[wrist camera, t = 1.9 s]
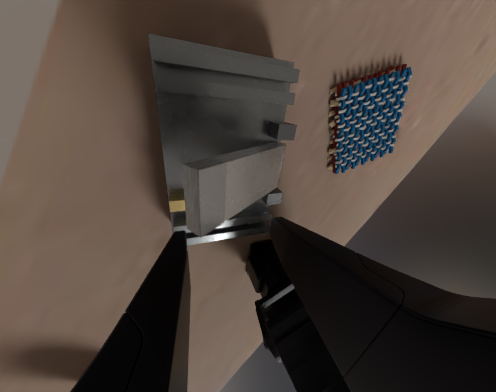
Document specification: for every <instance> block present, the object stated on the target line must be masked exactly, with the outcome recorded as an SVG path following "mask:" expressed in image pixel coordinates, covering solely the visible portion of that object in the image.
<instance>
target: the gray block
mask: <svg viewBox="0 0 496 392" xmlns="http://www.w3.org/2000/svg"><path fill="white" fill-rule="evenodd" d="M285 148H286V144H285V143H280V142H273V143H268V144H264V145H260V146H256V147H252V148H248V149H244V150H239V151H235V152H231V153H227V154H223V155H219V156H215V157H209V158H204V159H200V160H196V161H192V162H188V163H184V164H182V173H183V186H184V199H185V211H186V224H187V229H188V230H190V231H191V232H193V233H194V234H196V235H198V236H199V237H201V238H202V237H203V236H205V235H206V234H208V233H209V232H211V231H212V230H214V229H215V228H217V227H218V226H220V225H221V224H223V223H224V222H225V221H227V220H228V219H230V218H231V217H233V216H234V215H236V214H237V213H239V212H240V211H242V210H243V209H245V208H246V207H248V206H249V205H251V204H252V203H254V202H255V201H257V200H258V199H260V198H262V197H263V196H265V195H266V194H268V193H269V192H271V191H272V190H274V189H275V188H277V187H278V185H279V180H280V174H281V169H282V164H283V158H284V153H285Z"/></svg>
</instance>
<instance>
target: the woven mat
mask: <svg viewBox="0 0 496 392" xmlns="http://www.w3.org/2000/svg"><path fill="white" fill-rule="evenodd" d="M406 66H407V64H403V65H402V67H401V66H397V67H396V69H393V68H394V66H390V67H389V69H387V70H385V72H384V73H382V72H383V70H380V71H378V73H374V74H371V75H368V76H367V78H366V76H364V77H362V78H361V80H358V78H357V77H356V78H354V79H353V80H351V81H350V82H349V83H348V84H347V82H346V81H345V82H343V83H342V84H337V87H335V88H333V89H330V90H329V94H334V93H335V98H334V99H333V100H331V101H330V107H333V108H334V110H333V111H330V112H329V117H330V116H334V115H335V118H334V120H331V122H330V123H329V125H330V126H331V128H332V127H333V126H334V129H333V130H331V131H330V136H331V135H333V137H332V138H334V139H332V140H330V144H332V143H333V145H332V147H331V149H329V154H332V156H330V157H328V158H327V160H330V159H333V164H330V165H329V166H328V169H329V171H330V170H333V173H335V174H337V173H339V169H340V168H341V169H342V171H341V172H342V173H344V172H345V170H347V169H348V167H350V166H351V165H352V167H351V168H352V169H354V168H355V166H357V165H358V162H359V161H360V160H361V164H362V165H364V164H365V162H366V161H368V159H369V157H371V159H370V160H371V161H373V160H374V159H375V158H376V157H377V156H378V155H379V154H380V157H383V155H384V154H386V151H387V150H388V149H389V152H388V153H392V152H393V146H394V142H395V141H396V140H397V138H396V139H395V137H396V135H394V134H395V133H396V131H397V130H398V129H399V128H400V126H399V127H398V124H399V119H400V118H402V115H401V111H402V110H403V108H402V107H403V106H404V105H406V102H405V103H404V101H403V100H405V97H404V98H403V96H404V95H405V93H406V92H407V91H408V90H409V88H408V87H407V84H409V81H408V79H409V78H411V76H412V72H411V67H408V68H407V69H406ZM372 75H373V76H372ZM405 75H406V76H405ZM392 77H393V78H392ZM382 79H383V80H382ZM402 88H403V89H402ZM358 90H359V91H358ZM385 92H386V93H385ZM347 93H348V94H347ZM400 93H401V94H400ZM352 101H353V102H352ZM351 102H352V104H350V103H351ZM373 103H374V104H373ZM338 106H340V108H339V107H338ZM396 115H397V116H396ZM344 122H345V123H344ZM350 128H351V129H350ZM369 130H370V131H369ZM336 145H337V146H336ZM366 146H367V148H366ZM365 156H366V157H365ZM346 163H347V164H346ZM336 167H337V168H336Z"/></svg>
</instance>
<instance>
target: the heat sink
mask: <svg viewBox="0 0 496 392" xmlns="http://www.w3.org/2000/svg"><path fill="white" fill-rule="evenodd" d="M148 38H149V46H150V54H151V62H152V70H153V78H154V86H155V94H156V102H157V110H158V119H159V127H160V135H161V143H162V151H163V159H164V167H165V175H166V183H167V191H168V199H169V207H170V215H171V223H172V231H173V233H174V232H175V231H181V230H185V231H186V239H187V245H193V244H199V243H205V242H211V241H217V240H223V239H229V238H235V237H241V236H247V235H253V234H259V233H265V232H270V224H269V223H268V222H267V221H272V216H273V214H272V213H271V212H270V210H269V205H273V204H281V200H282V195H283V193H282V192H281V191H280V190H279V189H278V188H275V189H274V190H272V191H271V192H269V193H268V194H266V195H265V196H263V197H262V198H260V199H258V200H257V201H255V202H254V203H252V204H251V205H249V206H248V207H246V208H245V209H243V210H242V211H240V212H239V213H237V214H236V215H234V216H233V217H231V218H230V219H228V220H227V221H225V222H224V223H223V224H221V225H220V226H218V227H217V228H215V229H214V230H212V231H211V232H209V233H208V234H206V235H205V236H203V237H202V238H201V237H199V236H198V235H196V234H194V233H193V232H191V231H190V230H188V229H187V224H186V211H185V199H184V186H183V173H182V164H184V163H188V162H192V161H196V160H200V159H204V158H209V157H215V156H219V155H223V154H227V153H231V152H235V151H239V150H244V149H248V148H252V147H256V146H260V145H264V144H268V143H273V142H280V141H281V140H294V137H295V132H296V127H297V125H294V124H291V123H287V122H284V118H285V112H286V106H287V105H293V104H294V98H295V93H289V89H290V83H297V82H298V77H299V71H300V70H298V69H293V66H294V62H289V61H284V60H279V59H274V58H269V57H264V56H259V55H254V54H249V53H244V52H239V51H234V50H229V49H224V48H219V47H214V46H209V45H204V44H199V43H194V42H189V41H184V40H179V39H174V38H169V37H164V36H159V35H154V34H149V33H148Z"/></svg>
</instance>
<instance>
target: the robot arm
mask: <svg viewBox="0 0 496 392" xmlns="http://www.w3.org/2000/svg"><path fill="white" fill-rule="evenodd" d="M270 237H271V240H268V241H262V242H257V243H253V244H252V245H251V247H250V255H249V257H248V261H247V274H248V276H249V277H250V279H251V282H252V284H253V286H254V289H255V291H256V292H257V293H260V294H261V296H262V298H261V299H260V300H257V301H256V302H255V305H256V312H257V316H258V320H259V323H260V327H261V331H262V335H263V342H264V346H265V348H266V349H267V350H269V351H271V353H272V354H273V356H274V357H275V359H276V360H277V361H278V362H279V363H281V362H283V364H284V366H285V368H286V370H287V372H288V374H289V376H290V378H291V380H292V382H293V384H294V387H295V389H296V391H297V392H496V299H493V298H480V297H470V296H464V295H460V294H455V293H452V292H449V291H445V290H443V289H440V288H438V287H436V286H433V285H431V284H428V283H426V282H423V281H421V280H418V279H416V278H414V277H411V276H409V275H406V274H404V273H402V272H399V271H397V270H394V269H392V268H390V267H387V266H385V265H383V264H380V263H378V262H376V261H374V260H371V259H370V258H367V257H365V256H363V255H361V254H359V253H356V252H354V251H353V250H350V249H348V248H346V247H344V246H342V245H340V244H338V243H336V242H334V241H331V240H329V239H327V238H325V237H323V236H321V235H319V234H317V233H314V232H312V231H310V230H308V229H306V228H304V227H302V226H300V225H298V224H295V223H293V222H291V221H289V220H287V219H285V218H283V217H274V218H273V219H272V221H271V227H270ZM254 246H255V247H254ZM190 294H191V286H190V272H189V260H188V248H187V239H186V231H185V230H181V231H175V232H174V233H173V235H172V236H171V238H170V239H169V241H168V243H167V244H166V246H165V248H164V249H163V251H162V252H161V254H160V256H159V257H158V259H157V260H156V262H155V264H154V265H153V267H152V268H151V270H150V272H149V273H148V275H147V277H146V278H145V280H144V281H143V283H142V285H141V286H140V288H139V289H138V291H137V293H136V294H135V296H134V298H133V299H132V301H131V302H130V304H129V306H128V307H127V309H126V311H125V312H126V313H124V314H123V315H122V317H121V318H120V320H119V322H118V323H117V325H116V326H115V328H114V330H113V331H112V333H111V334H110V336H109V337H108V339H107V340H106V342H105V343H104V345H103V346H102V348H101V349H100V351H99V352H98V354H97V355H96V357H95V358H94V359H93V361H92V362H91V364H90V365H89V366H88V368H87V369H86V371H85V372H84V373H83V375H82V376H81V378H80V379H79V380H78V382H77V383H76V385H75V386H74V387H73V389H72V390H71V391H70V392H187V382H188V353H189V323H190Z"/></svg>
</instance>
